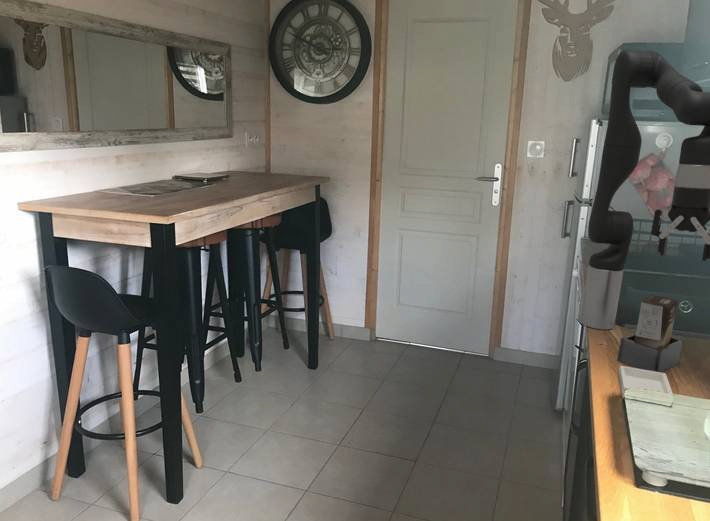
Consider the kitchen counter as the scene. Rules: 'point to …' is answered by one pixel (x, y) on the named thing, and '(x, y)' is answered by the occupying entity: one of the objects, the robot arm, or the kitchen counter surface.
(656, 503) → the kitchen counter surface
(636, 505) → the kitchen counter surface
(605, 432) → the kitchen counter surface
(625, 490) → the kitchen counter surface
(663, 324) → the coffee box
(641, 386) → the tray
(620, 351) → the sleeve
